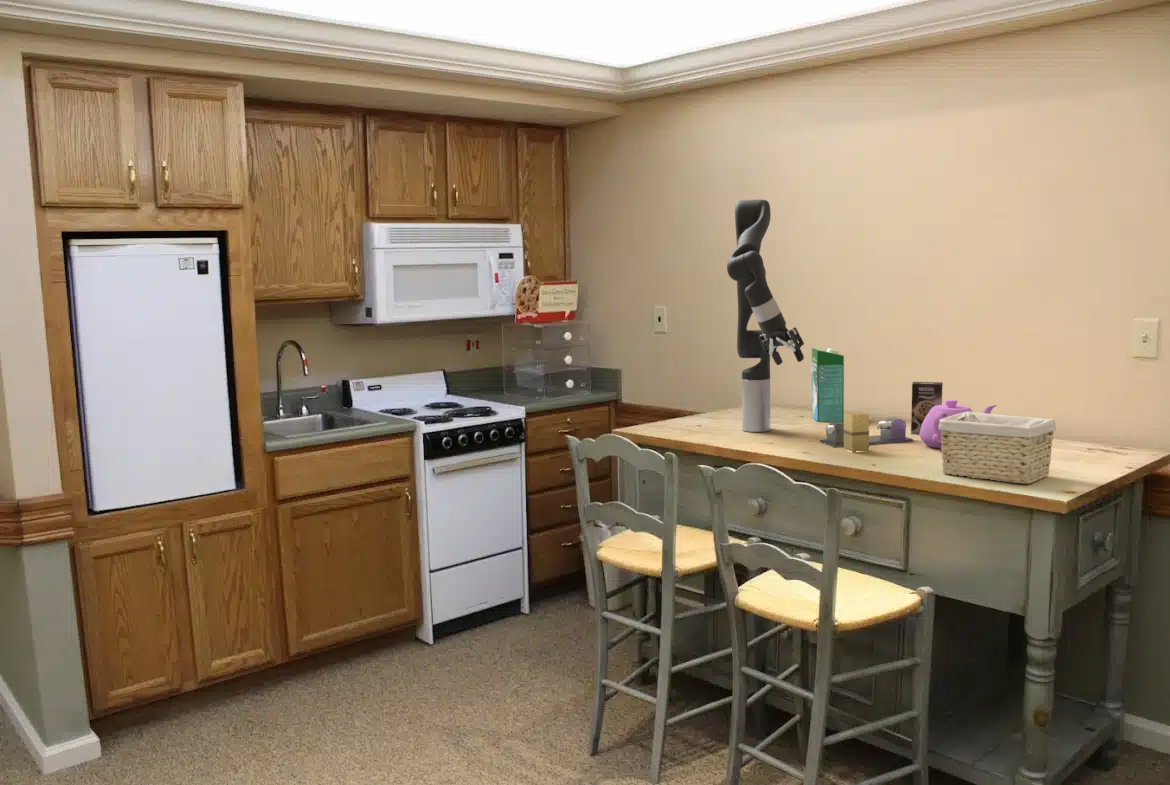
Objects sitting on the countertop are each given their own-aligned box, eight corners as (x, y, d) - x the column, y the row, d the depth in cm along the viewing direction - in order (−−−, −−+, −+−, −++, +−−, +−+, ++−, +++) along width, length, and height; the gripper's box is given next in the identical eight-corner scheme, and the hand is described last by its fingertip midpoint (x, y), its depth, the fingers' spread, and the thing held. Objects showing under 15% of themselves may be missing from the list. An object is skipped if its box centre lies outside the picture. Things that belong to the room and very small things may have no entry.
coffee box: (910, 434, 302) (911, 383, 300) (911, 430, 308) (912, 381, 305) (941, 435, 298) (942, 384, 296) (941, 431, 304) (942, 381, 302)
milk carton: (843, 421, 329) (844, 349, 326) (817, 421, 330) (817, 349, 326) (837, 417, 338) (837, 346, 335) (811, 417, 338) (811, 347, 335)
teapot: (982, 457, 264) (983, 408, 262) (906, 449, 278) (906, 402, 277) (1009, 445, 280) (1011, 398, 278) (937, 437, 294) (937, 393, 293)
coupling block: (852, 453, 276) (852, 415, 274) (843, 449, 281) (843, 412, 279) (868, 451, 277) (869, 414, 275) (859, 448, 282) (860, 411, 280)
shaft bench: (833, 447, 284) (833, 425, 283) (819, 442, 293) (819, 421, 292) (912, 441, 290) (912, 420, 289) (896, 436, 298) (897, 415, 297)
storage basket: (935, 474, 246) (936, 418, 244) (963, 464, 257) (964, 410, 255) (1030, 488, 228) (1032, 427, 226) (1056, 476, 239) (1058, 418, 237)
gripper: (793, 305, 280) (815, 353, 284) (758, 313, 292) (780, 358, 296) (778, 317, 276) (801, 365, 280) (743, 324, 288) (766, 370, 292)
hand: (790, 362), depth 288 cm, fingers open, 8 cm apart
